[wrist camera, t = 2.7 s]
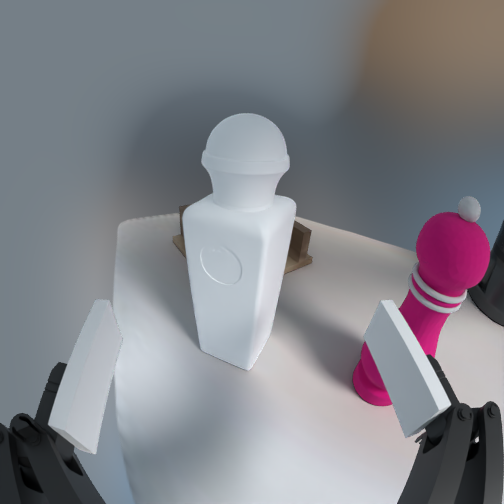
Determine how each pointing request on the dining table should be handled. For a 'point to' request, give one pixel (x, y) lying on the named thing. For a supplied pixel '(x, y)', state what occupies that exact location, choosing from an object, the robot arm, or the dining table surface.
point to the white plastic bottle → (239, 239)
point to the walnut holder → (295, 253)
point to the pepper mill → (434, 286)
